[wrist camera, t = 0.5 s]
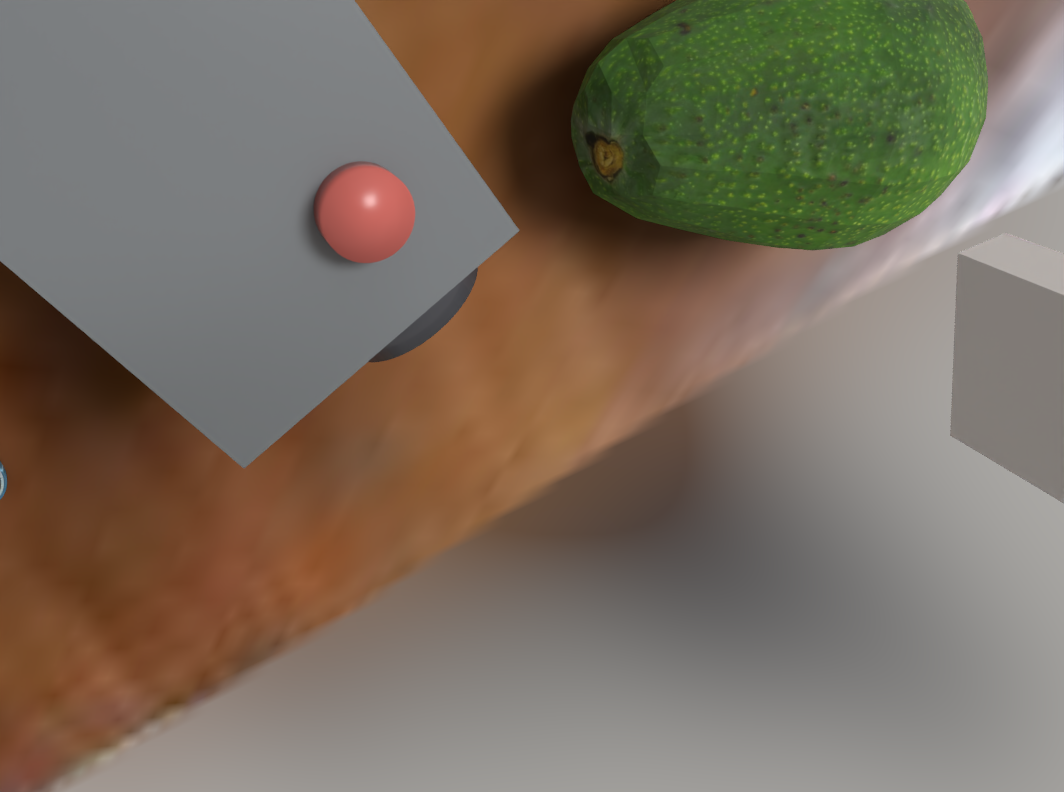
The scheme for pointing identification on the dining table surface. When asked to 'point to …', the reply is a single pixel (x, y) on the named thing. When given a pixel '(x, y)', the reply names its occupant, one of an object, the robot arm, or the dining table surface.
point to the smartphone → (2, 480)
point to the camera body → (233, 198)
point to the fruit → (783, 116)
